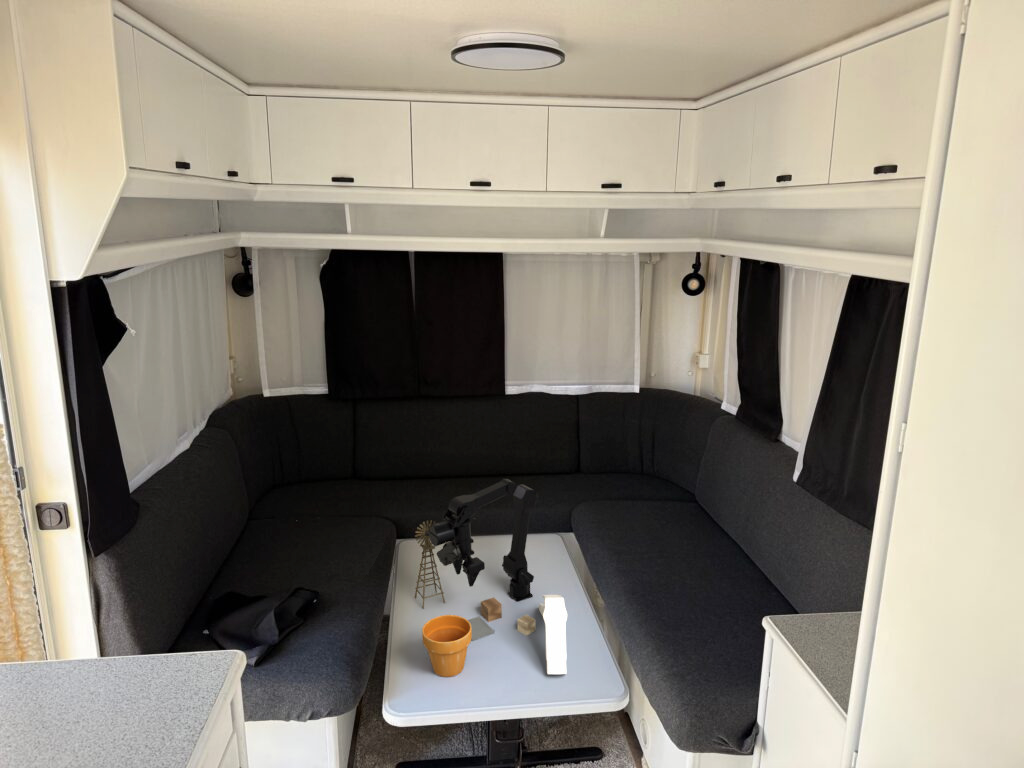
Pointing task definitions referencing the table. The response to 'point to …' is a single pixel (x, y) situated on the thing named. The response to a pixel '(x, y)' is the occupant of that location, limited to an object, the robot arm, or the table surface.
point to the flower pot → (447, 643)
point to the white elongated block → (555, 633)
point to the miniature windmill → (429, 547)
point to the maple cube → (526, 625)
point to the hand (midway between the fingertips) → (464, 580)
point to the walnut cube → (491, 609)
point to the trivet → (479, 628)
